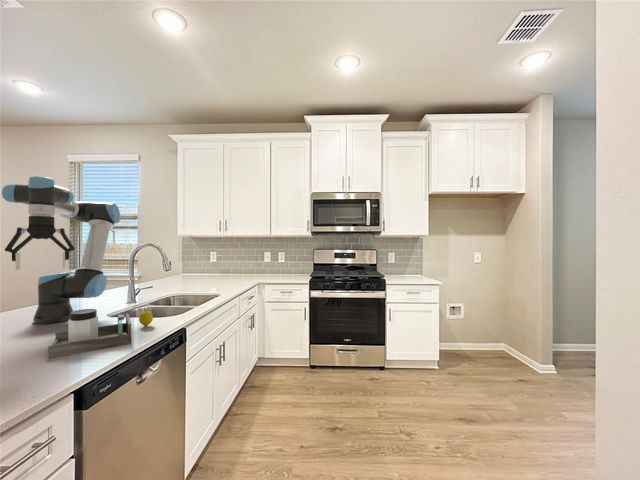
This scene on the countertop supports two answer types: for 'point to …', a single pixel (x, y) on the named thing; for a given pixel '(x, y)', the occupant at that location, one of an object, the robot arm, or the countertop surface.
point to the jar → (83, 325)
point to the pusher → (120, 323)
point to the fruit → (146, 318)
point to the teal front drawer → (91, 340)
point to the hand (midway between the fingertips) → (41, 268)
